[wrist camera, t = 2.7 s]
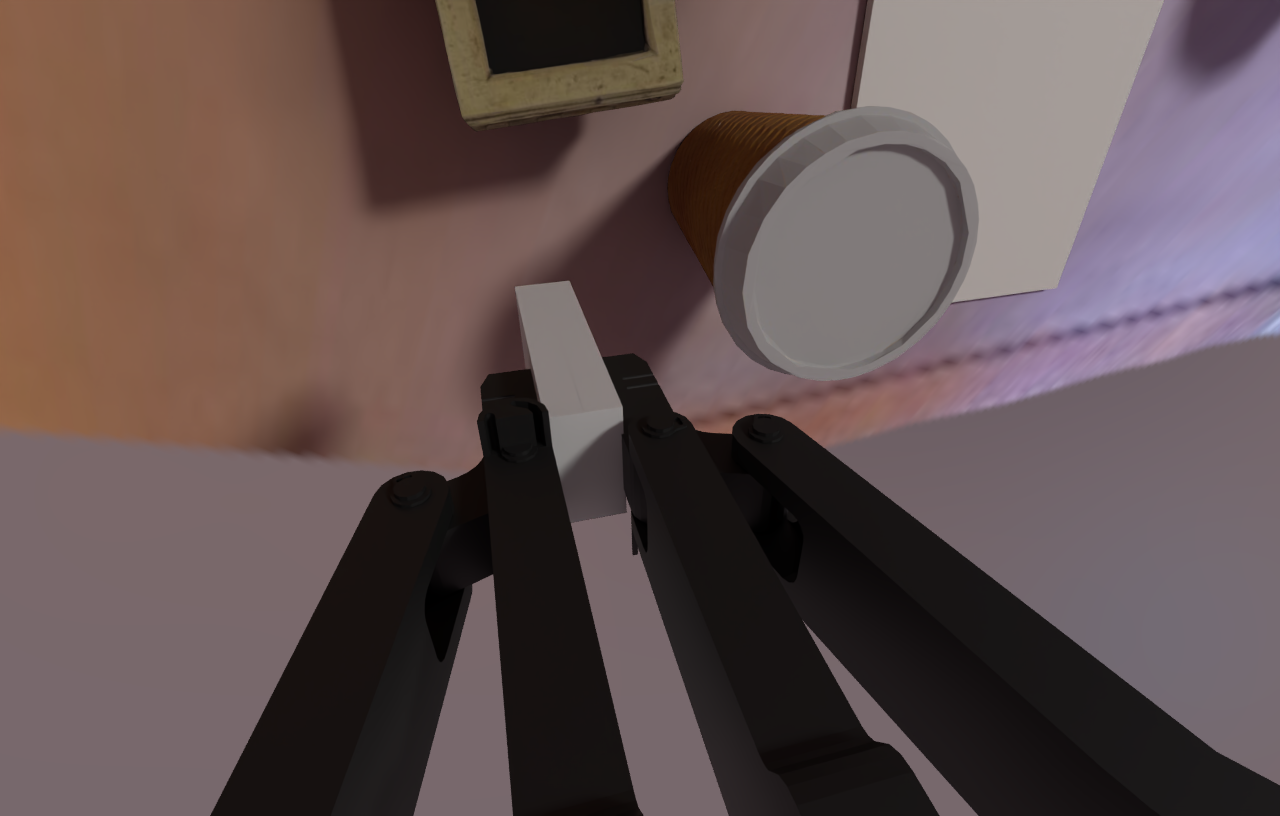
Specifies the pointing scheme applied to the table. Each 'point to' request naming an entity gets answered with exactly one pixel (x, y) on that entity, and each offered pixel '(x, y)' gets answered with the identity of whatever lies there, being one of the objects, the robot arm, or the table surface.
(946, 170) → the disposable coffee cup
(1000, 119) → the felt mat
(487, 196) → the table surface
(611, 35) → the box
